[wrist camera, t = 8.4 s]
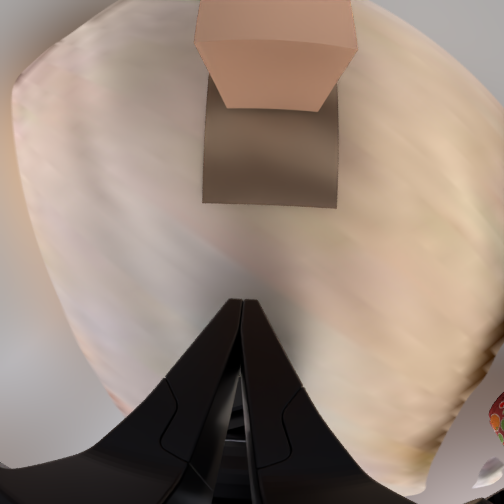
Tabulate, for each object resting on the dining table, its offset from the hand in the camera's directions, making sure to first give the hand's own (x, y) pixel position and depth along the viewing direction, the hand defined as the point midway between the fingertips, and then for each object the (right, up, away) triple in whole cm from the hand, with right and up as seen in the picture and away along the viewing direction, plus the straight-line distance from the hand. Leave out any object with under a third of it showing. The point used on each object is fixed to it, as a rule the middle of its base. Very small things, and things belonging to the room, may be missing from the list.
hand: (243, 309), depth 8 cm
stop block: (+2, +14, +9) cm, 16 cm away
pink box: (+2, +15, +8) cm, 17 cm away
